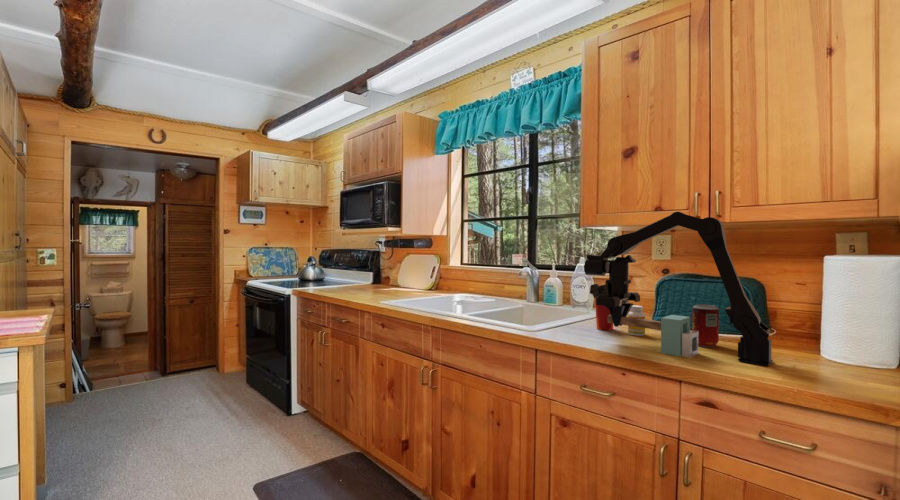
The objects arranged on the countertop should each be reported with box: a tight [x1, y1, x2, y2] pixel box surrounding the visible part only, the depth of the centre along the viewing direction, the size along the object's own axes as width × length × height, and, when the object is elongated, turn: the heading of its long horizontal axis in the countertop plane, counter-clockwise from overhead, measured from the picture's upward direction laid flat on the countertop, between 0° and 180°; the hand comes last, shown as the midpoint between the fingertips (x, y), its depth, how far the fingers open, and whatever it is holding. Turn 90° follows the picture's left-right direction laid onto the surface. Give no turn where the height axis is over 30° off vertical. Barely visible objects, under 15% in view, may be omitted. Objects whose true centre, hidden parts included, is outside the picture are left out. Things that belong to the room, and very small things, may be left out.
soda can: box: [691, 303, 720, 348], centre depth 130 cm, size 7×7×12 cm
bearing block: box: [660, 314, 691, 357], centre depth 121 cm, size 5×8×10 cm, turn 133°
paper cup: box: [594, 297, 614, 331], centre depth 155 cm, size 8×8×14 cm
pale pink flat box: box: [681, 329, 699, 358], centre depth 119 cm, size 2×6×6 cm, turn 133°
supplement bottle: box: [627, 304, 646, 337], centre depth 145 cm, size 5×5×10 cm
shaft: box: [608, 315, 661, 331], centre depth 129 cm, size 19×2×2 cm, turn 43°
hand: (618, 326), depth 134 cm, fingers closed on shaft, 2 cm apart
